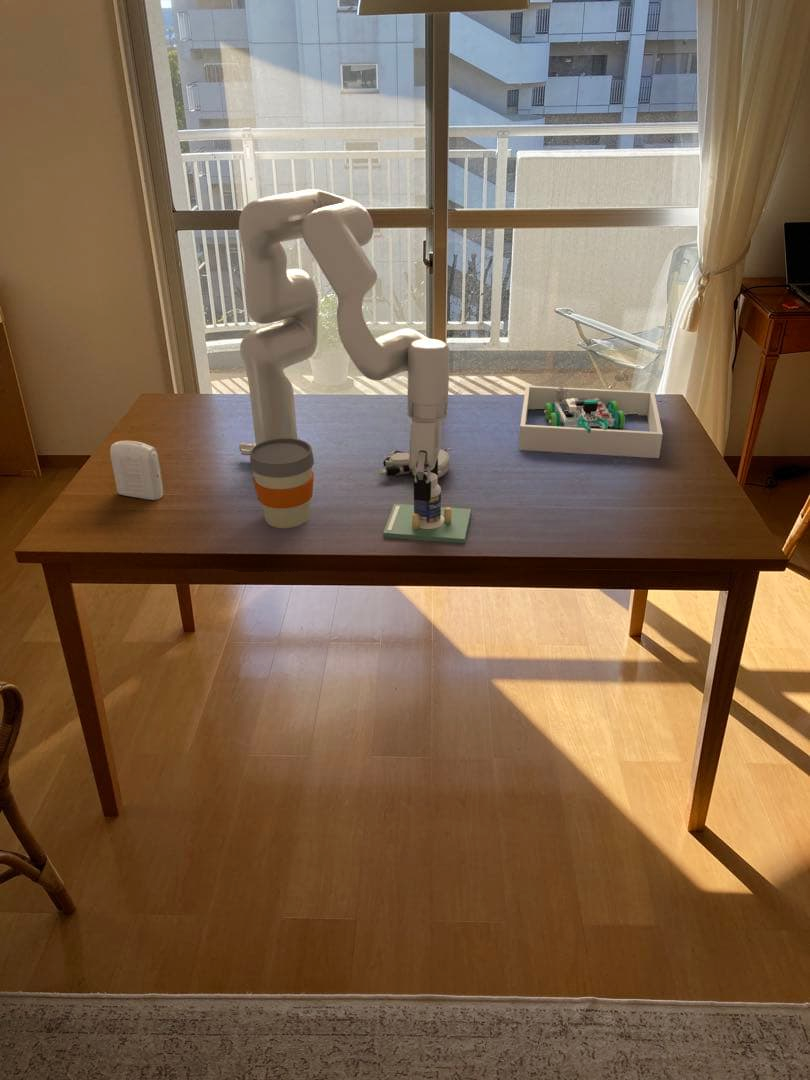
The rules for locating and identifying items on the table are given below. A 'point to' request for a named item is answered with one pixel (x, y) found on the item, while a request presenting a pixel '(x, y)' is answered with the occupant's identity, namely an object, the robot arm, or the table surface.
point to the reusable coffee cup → (283, 480)
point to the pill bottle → (430, 504)
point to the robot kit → (583, 412)
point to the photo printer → (136, 470)
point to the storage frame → (598, 438)
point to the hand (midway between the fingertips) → (426, 487)
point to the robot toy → (400, 463)
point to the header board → (445, 530)
